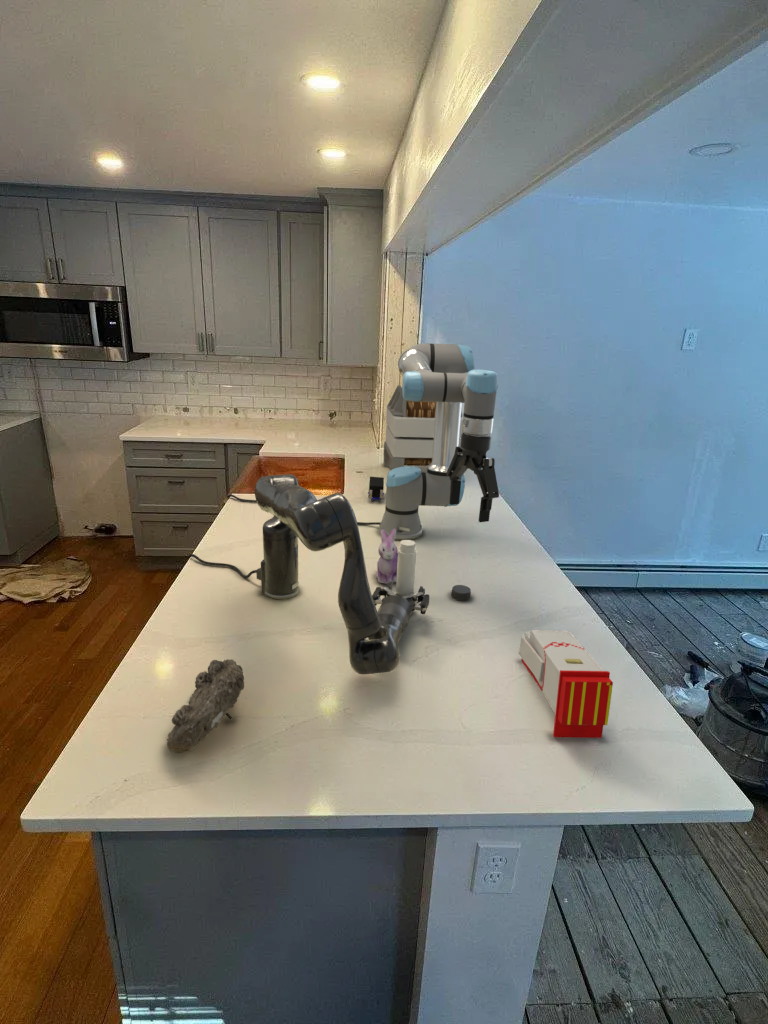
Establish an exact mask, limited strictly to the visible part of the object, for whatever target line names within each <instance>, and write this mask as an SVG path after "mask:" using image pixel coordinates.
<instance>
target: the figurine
mask: <svg viewBox="0 0 768 1024" xmlns="http://www.w3.org/2000/svg"><path fill="white" fill-rule="evenodd" d="M395 536H396V529H393V530H392V531H391V533H390V534H389V536H387V534H386V532H385V530H381V534H380V541H381V543H380V545H379V547H378V554H379V556H380V557H379V558H378V560H377V562H376V569H377V571H376V574H375V577H376V579H377V582H378V583H380V584H387V583H390V582H393V583H396V580H397V562H398V549H399V548H398V547H397V545H396V542H395V541H396V540H395Z"/></svg>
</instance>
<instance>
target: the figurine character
mask: <svg viewBox="0 0 768 1024" xmlns="http://www.w3.org/2000/svg"><path fill="white" fill-rule="evenodd" d="M384 488H385V477H381V476H369V484H368V492H367V494H368V499H370V501H371V502H372V503H373V502H374V500H375V501H376V500H377V502H378V503H380V502H381V499H384V495H385V493H384Z"/></svg>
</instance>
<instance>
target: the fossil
mask: <svg viewBox="0 0 768 1024" xmlns="http://www.w3.org/2000/svg"><path fill="white" fill-rule="evenodd" d="M243 670H244V669H243V667H242V665H240V664H237V662H236V661H235V660H234V659H232V658H231V659H227V658H226V659H224V660H223V661H222V660H217V659H212V660H211V661H210V663H209V665H208V666H207V671H201V672H199V673H198V674H197V675H196V676H195V680H194V684H195V685H194V687H195V689H194V690H193V693H192V694H191V697H190V698H189V700H188V704H184V705H182V706H181V707H180V709H177V710H176V711H175V713H174V715H173V716H172V718H171V723H172V724H173V727H172V730H171V731H170V732H168V734H167V738H166V741H167V742H166V745H167V749H168V750H169V751H173V752H174V753H176V754H178V753H182V752H188V751H189V752H192V751H193V750H195V748H196V747H197V746H199V744H200V743H201V742H203V741H204V740H205V739H206V738H207V737H208V736H209V735H210V734H211V733H212V732H214V730H215V729H217V727H218V726H219V724H220V722H221V721H222V720H223V719H224V718H225V716H226V717H227V719H229V720H233V717H232V715H230V714H229V710H230V709H231V708H234V706H235V704H236V703H237V702H238V699H239V697H240V695H241V693H242V691H243V690H245V689H244V688H245V675H244V671H243Z"/></svg>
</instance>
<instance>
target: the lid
mask: <svg viewBox="0 0 768 1024" xmlns="http://www.w3.org/2000/svg"><path fill="white" fill-rule="evenodd" d="M471 593H472V590H471V588H470V587H469V586H467V585H465V584H456V585H453V586H452V587H451V594H450V595H451V598H452V599H453V600H455V601H458V602H466V601H469V600H470V599H471V595H472V594H471Z"/></svg>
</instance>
